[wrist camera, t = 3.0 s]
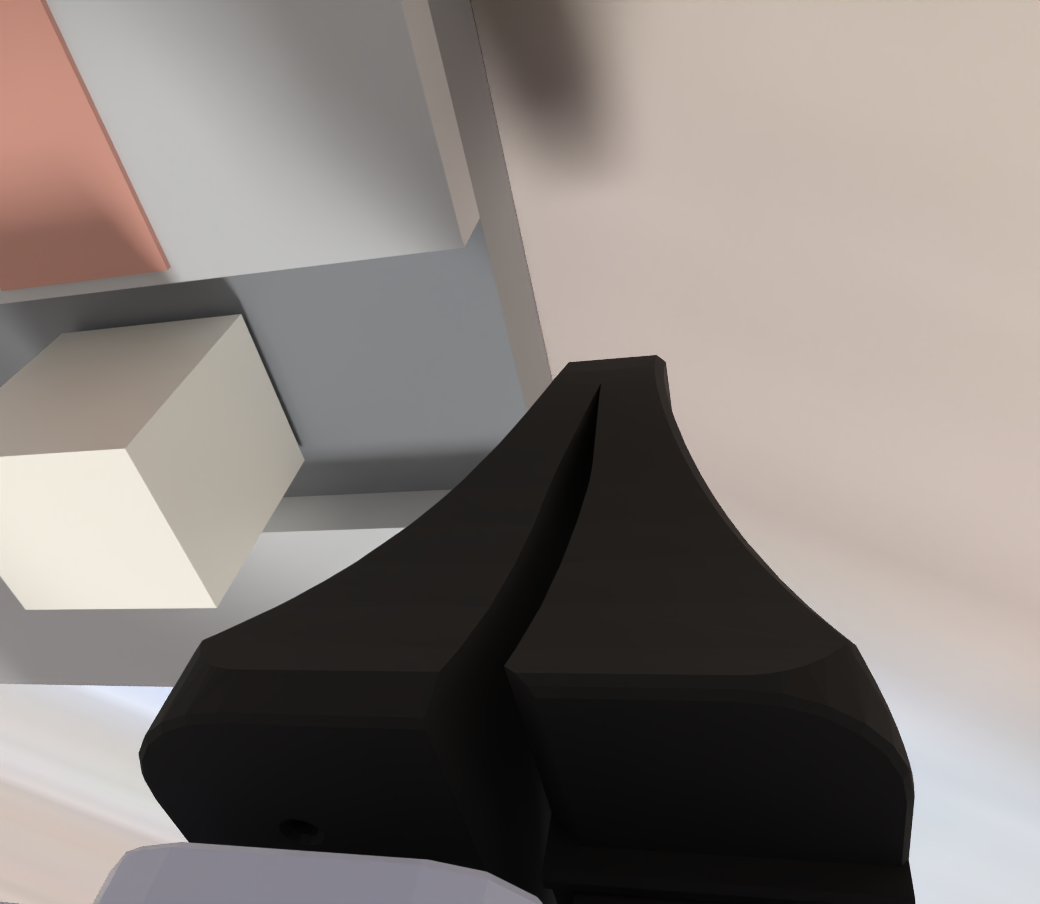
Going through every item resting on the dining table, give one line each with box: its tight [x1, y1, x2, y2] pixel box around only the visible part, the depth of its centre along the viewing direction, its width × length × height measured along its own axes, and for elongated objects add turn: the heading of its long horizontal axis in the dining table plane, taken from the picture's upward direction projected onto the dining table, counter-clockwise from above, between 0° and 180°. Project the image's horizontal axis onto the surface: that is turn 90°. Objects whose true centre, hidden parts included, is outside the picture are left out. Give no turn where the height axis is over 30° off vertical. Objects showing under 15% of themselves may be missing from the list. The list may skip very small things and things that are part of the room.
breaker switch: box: [0, 314, 305, 610], centre depth 14 cm, size 3×4×4 cm
